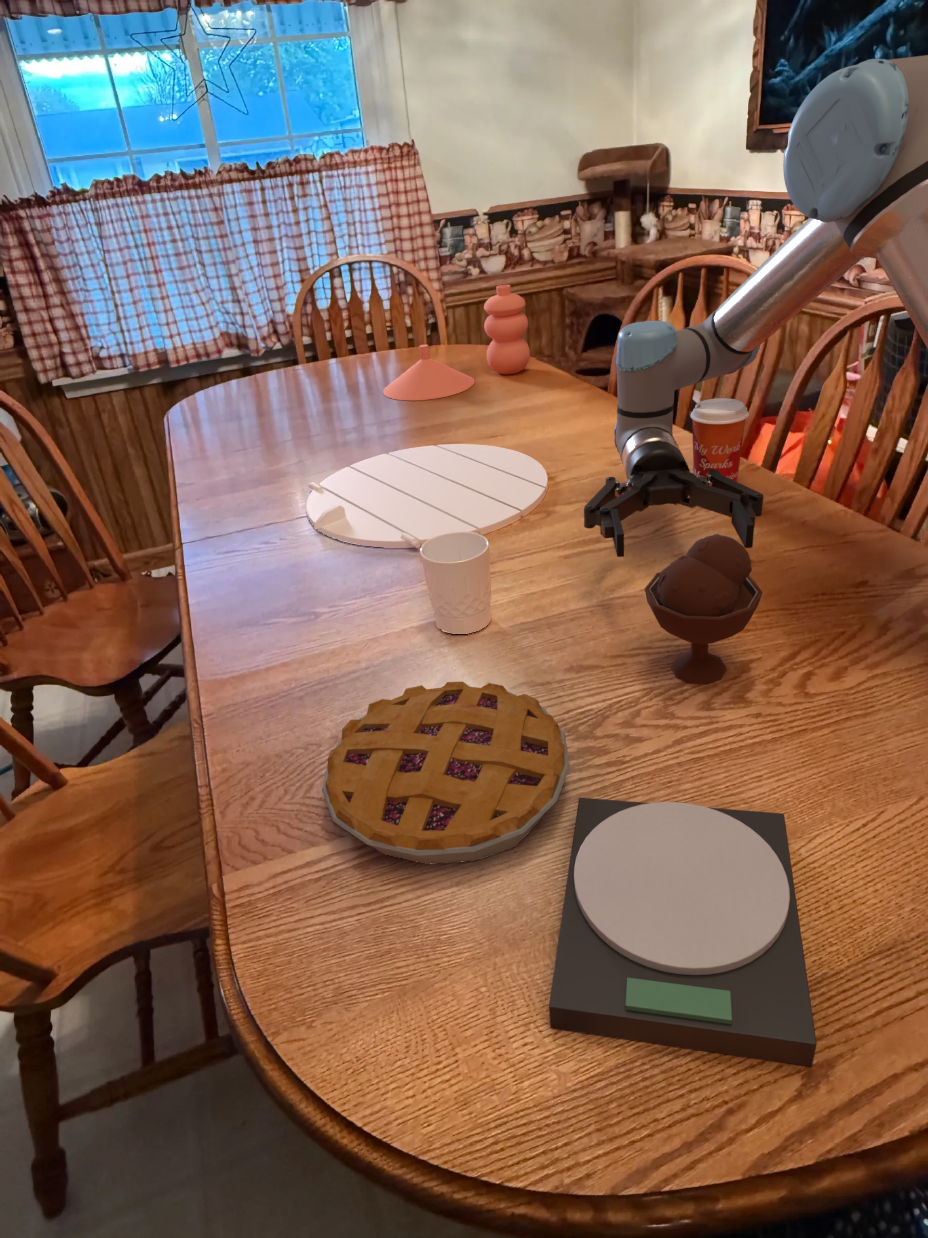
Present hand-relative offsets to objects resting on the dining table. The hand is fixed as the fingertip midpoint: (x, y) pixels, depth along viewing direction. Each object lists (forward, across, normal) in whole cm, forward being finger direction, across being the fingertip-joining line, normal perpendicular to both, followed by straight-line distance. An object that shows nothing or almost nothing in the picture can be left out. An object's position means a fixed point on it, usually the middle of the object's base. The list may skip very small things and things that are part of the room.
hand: (684, 541), depth 88 cm
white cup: (-3, +25, -10) cm, 27 cm away
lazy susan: (-43, +33, -11) cm, 56 cm away
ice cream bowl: (+9, 0, -10) cm, 14 cm away
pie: (+25, +25, -10) cm, 37 cm away
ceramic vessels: (-109, +32, -11) cm, 114 cm away
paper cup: (-33, -10, -10) cm, 36 cm away
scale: (+40, +7, -10) cm, 42 cm away
